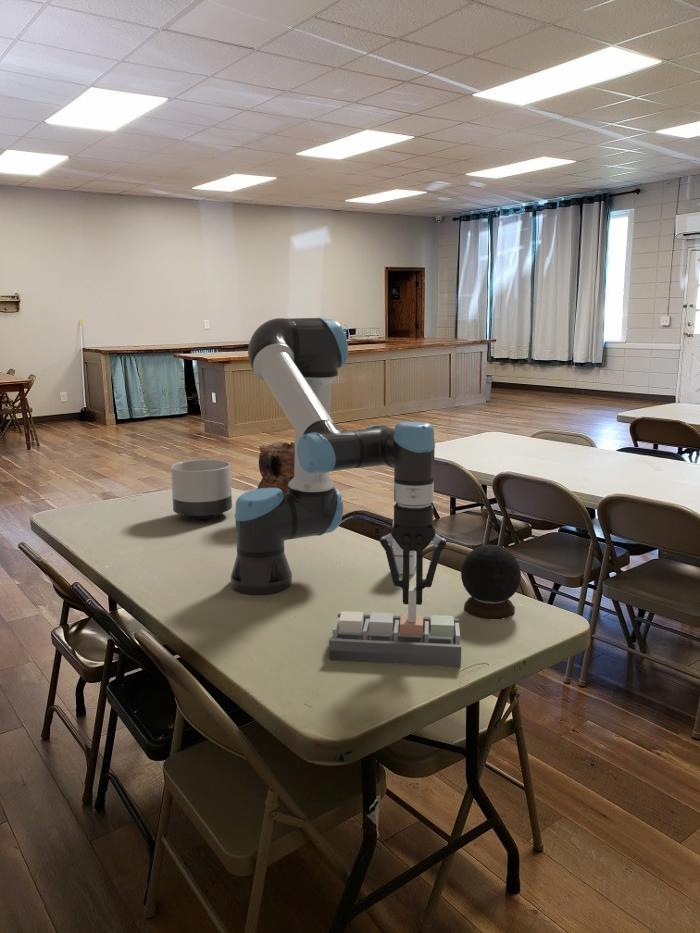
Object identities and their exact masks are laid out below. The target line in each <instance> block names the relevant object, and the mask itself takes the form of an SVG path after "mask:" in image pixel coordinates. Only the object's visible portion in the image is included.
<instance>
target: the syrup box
mask: <svg viewBox="0 0 700 933" xmlns="http://www.w3.org/2000/svg"><path fill="white" fill-rule="evenodd" d="M393 526H394V518H393V520H392V527H393ZM392 548H393V551H394V555H395V560H396V564H397V568H398V572H399V575H403V549H401V548H400V546H399V545H398V544H397V542H396V541H395V539H394V538H393V545H392ZM415 574H416V551H410V565H409V576H415Z"/></svg>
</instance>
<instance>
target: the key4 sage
mask: <svg viewBox="0 0 700 933" xmlns="http://www.w3.org/2000/svg"><path fill="white" fill-rule="evenodd" d="M430 617H431V636H440V637H454V615H436V614H435V615H434V614H431V615H430Z"/></svg>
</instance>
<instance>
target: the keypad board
mask: <svg viewBox="0 0 700 933" xmlns="http://www.w3.org/2000/svg"><path fill="white" fill-rule="evenodd" d="M340 615H341V612H340V613H339V612H338V613H337V616H336V618H335V621H334V625H333V628H332V638H329V645H328V647H329V648H328V649H329V651H328V652H329V653H328V654H329V657H328V658H329V661H343V662H363V663H381V664H384V663H385V664H400V665H417V666H419V665H421V666H436V665H437V666H438V665H442V666H443V667H456V666H461V667H462V644H461V630H460V619H459V618H457V617H456V618H454V637H440V636H431V616H423V637H415V636H400V618H401V615H393V631H392V634H376V633H369V621H370V616H371V614H367V613H366V614H365V613H364V625H363V629H362V633H355V632H339V618H340Z"/></svg>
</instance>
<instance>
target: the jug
mask: <svg viewBox="0 0 700 933" xmlns="http://www.w3.org/2000/svg"><path fill="white" fill-rule="evenodd" d="M258 448H259V451H260V453H259V456H258V469H259V472H260V476H261V477H262V478H261V480H260V481H259V484H258V485H257V488H256V489H260V488H278V489H281V490H282V491H283V493H288V483H289V482H290V481H291V480H292V479H293V478H294V468H295V441H290V444H289V443H288V442H286V441H285V442H284V441H278V442H272V443H271V444H268V445H264V444H262V445H259V447H258Z"/></svg>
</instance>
